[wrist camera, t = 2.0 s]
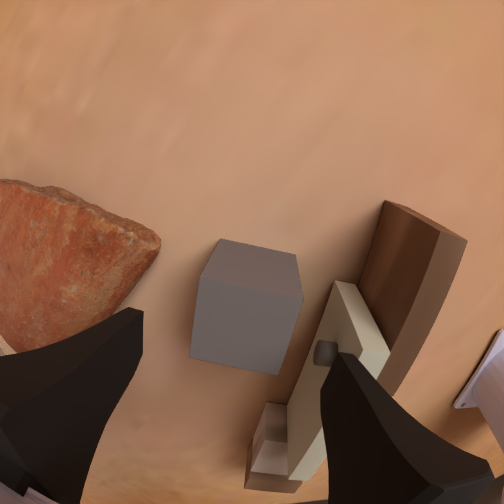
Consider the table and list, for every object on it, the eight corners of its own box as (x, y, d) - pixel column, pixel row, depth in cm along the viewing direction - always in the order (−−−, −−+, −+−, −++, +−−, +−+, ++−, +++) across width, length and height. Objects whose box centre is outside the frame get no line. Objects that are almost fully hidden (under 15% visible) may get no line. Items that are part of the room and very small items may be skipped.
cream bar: (355, 284, 16) (390, 353, 10) (303, 408, 20) (308, 480, 14) (321, 277, 16) (343, 346, 10) (275, 404, 20) (274, 478, 14)
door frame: (407, 206, 15) (467, 240, 9) (296, 456, 22) (298, 513, 17) (333, 185, 15) (369, 209, 9) (247, 450, 22) (241, 509, 17)
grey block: (295, 254, 16) (303, 298, 12) (277, 318, 18) (278, 375, 13) (220, 238, 16) (199, 276, 12) (209, 303, 18) (188, 357, 13)
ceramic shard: (-23, 79, 9) (163, 266, 14) (31, 89, 15) (176, 228, 20) (-90, 267, 11) (46, 404, 16) (-44, 239, 17) (71, 352, 22)
